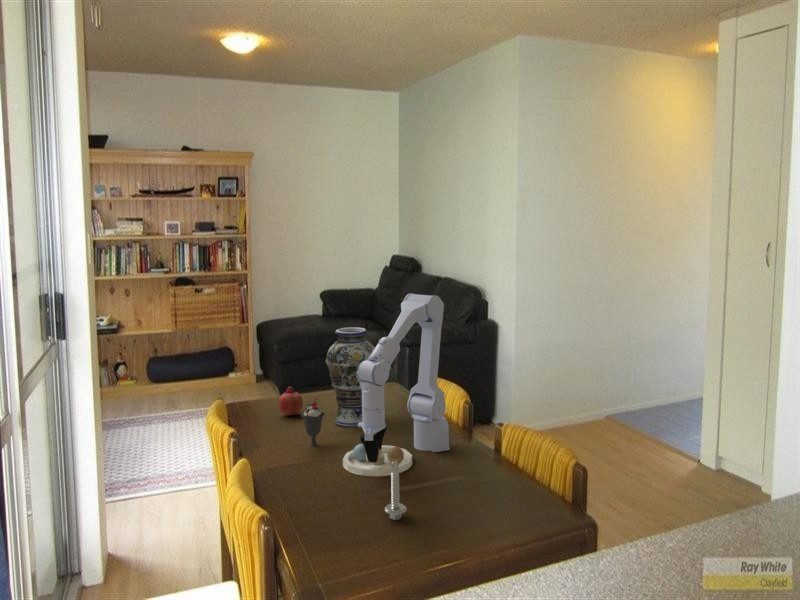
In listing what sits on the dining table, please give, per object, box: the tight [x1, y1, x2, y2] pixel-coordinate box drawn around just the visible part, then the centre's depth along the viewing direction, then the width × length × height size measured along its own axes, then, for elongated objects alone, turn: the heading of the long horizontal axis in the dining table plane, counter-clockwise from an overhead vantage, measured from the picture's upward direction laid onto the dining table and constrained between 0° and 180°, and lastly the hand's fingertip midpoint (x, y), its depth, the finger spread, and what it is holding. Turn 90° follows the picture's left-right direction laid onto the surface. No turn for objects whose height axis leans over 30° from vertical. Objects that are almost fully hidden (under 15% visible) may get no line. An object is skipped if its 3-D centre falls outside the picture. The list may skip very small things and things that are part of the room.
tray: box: [342, 444, 413, 477], centre depth 176 cm, size 18×18×3 cm
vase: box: [325, 326, 376, 429], centre depth 211 cm, size 17×17×30 cm
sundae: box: [300, 397, 326, 448], centre depth 189 cm, size 7×7×15 cm
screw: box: [384, 461, 407, 521], centre depth 145 cm, size 13×5×5 cm
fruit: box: [277, 385, 304, 417], centre depth 220 cm, size 8×8×10 cm
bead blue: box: [352, 443, 366, 461], centre depth 177 cm, size 4×4×4 cm
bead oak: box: [387, 446, 404, 463], centre depth 175 cm, size 4×4×4 cm
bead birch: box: [366, 449, 383, 465], centre depth 171 cm, size 4×4×4 cm
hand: (374, 458), depth 171 cm, fingers closed on bead birch, 4 cm apart
